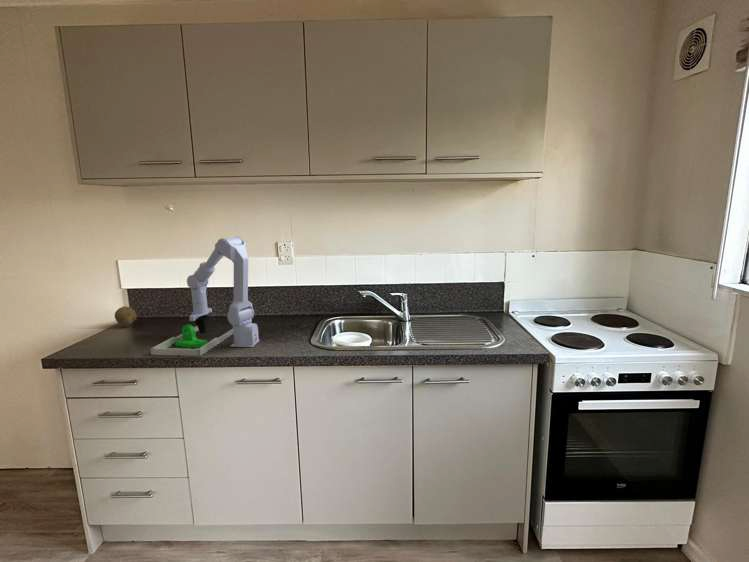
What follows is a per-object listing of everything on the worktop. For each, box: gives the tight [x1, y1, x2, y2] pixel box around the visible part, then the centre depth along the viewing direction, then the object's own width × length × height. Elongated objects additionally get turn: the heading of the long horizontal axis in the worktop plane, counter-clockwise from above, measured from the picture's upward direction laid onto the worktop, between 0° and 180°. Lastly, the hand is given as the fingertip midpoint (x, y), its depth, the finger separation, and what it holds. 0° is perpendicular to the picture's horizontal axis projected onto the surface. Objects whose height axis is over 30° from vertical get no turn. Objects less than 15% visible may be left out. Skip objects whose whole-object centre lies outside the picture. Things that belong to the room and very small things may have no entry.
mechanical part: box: [174, 324, 208, 349], centre depth 166 cm, size 12×6×8 cm, turn 64°
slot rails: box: [174, 325, 233, 344], centre depth 178 cm, size 20×20×2 cm
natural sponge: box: [114, 306, 138, 328], centre depth 195 cm, size 9×9×10 cm
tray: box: [150, 336, 220, 357], centre depth 162 cm, size 20×14×2 cm
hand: (203, 332), depth 174 cm, fingers closed
